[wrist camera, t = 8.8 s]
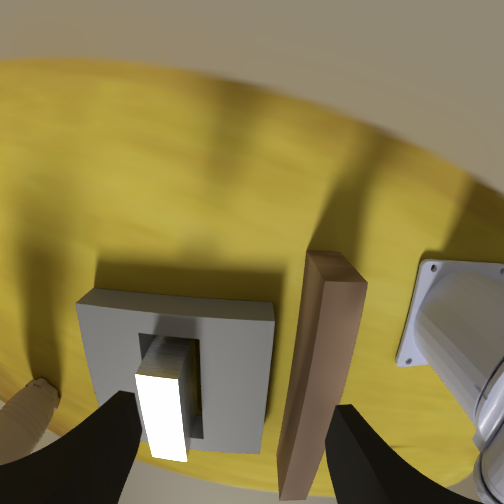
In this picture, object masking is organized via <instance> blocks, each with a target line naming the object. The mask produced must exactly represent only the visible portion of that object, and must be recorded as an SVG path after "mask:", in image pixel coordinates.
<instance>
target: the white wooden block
mask: <svg viewBox="0 0 504 504" xmlns="http://www.w3.org/2000/svg"><path fill="white" fill-rule="evenodd" d="M135 376H136V381H137V387H138V392H139V398H140V403H141V408H142V412H143V417H144V422H145V426H146V431H147V435H148V439H149V443H150V447H151V451H152V455H153V457H159V458H165V459H171V460H178V461H186V462H187V458H188V453H189V448H190V443H191V439H192V434H193V429H194V424H195V419H196V414H197V409H198V399H197V379H196V354H195V339H191V338H181V337H171V336H161V335H156V336H155V338H154V340H153V341H152V343H151V345H150V347H149V349H148V351H147V353H146V355H145V357H144V358H143V360H142V362H141V364H140V366H139V368H138V370H137V372H136V374H135Z"/></svg>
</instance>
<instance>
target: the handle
mask: <svg viewBox="0 0 504 504" xmlns="http://www.w3.org/2000/svg"><path fill="white" fill-rule="evenodd" d="M59 403H60V399H59V398H58V391H57V390H56V388H54V387H52V386H51V385H50V384H49V383H48V382H47V381H46V380H45V379H43V378H39V379H38V380H35V379H34V380H31V381H30V382H29V383H28V384H27V385H26V386H25V387H24V388H23V389H21V390H20V391H19V392H18V393H16V394H15V395H14V396H13V397H12V398H11V399H10V400H9V401H8V402H7V403H6V404H5V405H4V407H3V408H2V409H1V410H0V465H3V464H6V463H10V462H13V461H15V460H18V459H21V458H23V457H25V456H28V455H30V454H31V452H32V451H33V450H34V448H35V446H36V445H37V444H38V442H39V441H40V439H41V438H42V436H43V434H44V433H45V431H46V429H47V427H48V425H49V423H50V421H51V419H52V416H53V413H54V411H56V410H57V408H58V406H59Z"/></svg>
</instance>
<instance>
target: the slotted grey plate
mask: <svg viewBox="0 0 504 504" xmlns="http://www.w3.org/2000/svg"><path fill="white" fill-rule="evenodd" d="M76 309H77V315H78V320H79V326H80V331H81V336H82V341H83V346H84V350H85V355H86V359H87V363H88V367H89V371H90V375H91V379H92V383H93V387H94V390H95V394H96V397H97V401H98V404H99V407H101V406H102V405H103V404H104V403H105V402H106V401H107V400H108V399H110V398H111V397H112V396H113V395H114V394H115V393H117V392H118V391H119V390H121V391H127V392H132V393H135V397H136V402H137V407H138V412H139V416H140V420H141V425H142V429H143V430H142V435H141V439H140V441H142V442H147V443H149V439H148V435H147V431H146V426H145V422H144V417H143V412H142V408H141V403H140V398H139V392H138V387H137V381H136V376H135V374H136V372H137V370H138V368H139V366H140V364H141V362H142V360H143V358H144V357H145V355H146V353H147V351H148V349H149V347H150V345H151V343H152V341H153V338H152V334H153V335H161V336H171V337H181V338H191V339H200V368H201V394H202V415H203V416H202V415H196V419H195V424H194V429H193V434H192V439H191V443H190V448H189V449H194V450H203V451H214V452H226V453H244V454H260V448H261V440H262V433H263V425H264V416H265V408H266V400H267V391H268V382H269V374H270V364H271V355H272V346H273V336H274V326H275V318H274V310H273V303H272V302H262V301H243V300H226V299H211V298H197V297H184V296H171V295H160V294H149V293H138V292H128V291H118V290H108V289H99V288H93V289H91V290H90V291H89V292H88V293H87V294H85V295H84V296H83V297H82V298H81V299H80V300H79V301H77V302H76Z"/></svg>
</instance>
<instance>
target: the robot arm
mask: <svg viewBox="0 0 504 504" xmlns="http://www.w3.org/2000/svg"><path fill="white" fill-rule="evenodd" d="M432 265H434V269H433V270H431V267H432ZM501 269H502V270H501ZM409 358H410V359H409ZM407 359H409V360H408V361H407ZM395 362H396V364H397V366H398V367H407V366H418V365H427V364H430V366H431V367H432V368H433V370H434V371H435V372H436V374H437V375H438V376H439V377H440V379H441V380H442V381H443V383H444V384H445V385H446V387H447V388H448V389H449V391H450V392H451V393H452V395H453V396H454V397H455V399H456V400H457V402H458V403H459V404H460V406H461V407H462V408H463V410H464V411H465V413H466V414H467V415H468V417H469V418H470V420H471V421H472V422H473V424H474V425H475V426H476V433H475V435H474V437H473V439H472V440H473V442H474V443H475V445H476V446H477V448H478V450H479V451H480V454H479V455H478V457H477V459H476V462H475V465H474V470H473V479H474V485H475V488H476V491H477V493H478V495H479V497H480V499H481V500H482V501H483V503H481V502H478V501H474V500H471V499H468V498H466V497H464V496H461V495H459V494H456V493H454V492H452V491H450V490H448V489H446V488H444V487H443V486H441V485H439V484H437V483H436V482H434V481H432V480H431V479H429V478H427V477H426V476H424V475H423V474H422V473H420V472H419V471H417V470H416V469H415V468H413V467H412V466H411V465H409V464H408V463H407V462H406V461H405V460H403V459H402V458H401V457H400V456H399V455H398V454H397V453H396V452H395V451H394V450H393V449H392V448H390V447H389V446H388V445H387V443H386V442H385V441H384V440H383V439H382V438H381V437H380V436H379V435H378V434H377V433H376V432H375V431H374V430H373V429H372V427H371V426H370V425H369V424H368V423H367V422H366V421H365V419H364V418H363V417H362V416H361V415H360V413H359V412H358V411H357V410H356V409H355V408H354V406H353V405H352V404H348V405H335V409H334V412H333V416H332V419H331V422H330V425H329V429H328V432H327V435H326V438H325V449H326V457H327V464H328V468H329V472H330V476H331V480H332V484H333V488H334V492H335V495H336V499H337V503H338V504H504V264H502V263H486V262H471V261H455V260H439V259H424V260H423V261H422V262H421V263H420V266H419V270H418V275H417V280H416V285H415V289H414V294H413V298H412V302H411V306H410V310H409V314H408V318H407V322H406V325H405V329H404V333H403V336H402V340H401V343H400V347H399V350H398V353H397V356H396V360H395ZM142 430H143V429H142V425H141V420H140V416H139V412H138V407H137V402H136V397H135V393H132V392H127V391H121V390H119V391H118V392H117V393H115V394H114V395H113V396H112V397H111V398H110V399H108V400H107V401H106V402H105V403H104V404H103V405H102V406H101V407H99V408H98V409H97V410H96V411H95V412H94V413H92V414H91V415H90V416H89V417H88V418H86V419H85V420H84V421H83V422H81V423H80V424H79V425H78V426H76V427H75V428H74V429H72V430H71V431H69V432H68V433H67V434H65V435H64V436H62V437H61V438H59V439H58V440H56V441H55V442H53V443H51V444H50V445H48V446H46V447H44V448H42V449H41V450H39V451H37V452H34V453H32V454H30V455H28V456H25V457H23V458H21V459H18V460H15V461H13V462H10V463H6V464H3V465H0V504H118V501H119V498H120V495H121V492H122V490H123V487H124V485H125V482H126V480H127V477H128V474H129V472H130V469H131V467H132V464H133V462H134V459H135V457H136V454H137V451H138V447H139V443H140V439H141V435H142Z"/></svg>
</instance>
